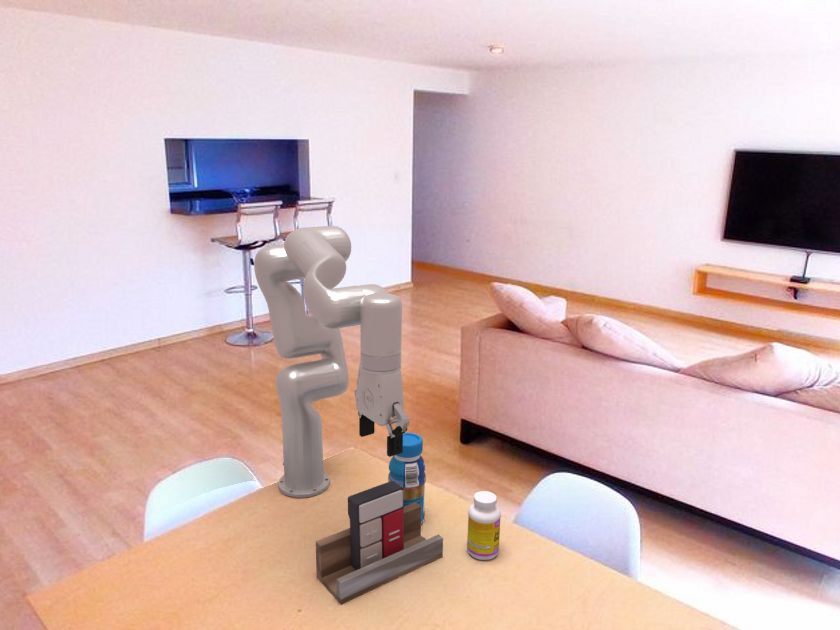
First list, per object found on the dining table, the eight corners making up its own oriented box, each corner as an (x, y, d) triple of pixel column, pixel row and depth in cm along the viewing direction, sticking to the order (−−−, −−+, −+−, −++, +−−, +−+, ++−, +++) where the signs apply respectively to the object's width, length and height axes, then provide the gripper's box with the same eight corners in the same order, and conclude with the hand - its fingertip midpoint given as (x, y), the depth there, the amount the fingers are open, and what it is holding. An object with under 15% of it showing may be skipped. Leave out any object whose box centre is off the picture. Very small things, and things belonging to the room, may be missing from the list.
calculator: (360, 575, 123) (358, 505, 119) (349, 564, 126) (347, 496, 123) (406, 554, 129) (405, 488, 126) (394, 544, 133) (393, 479, 129)
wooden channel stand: (316, 577, 124) (315, 541, 122) (415, 534, 138) (415, 502, 136) (341, 604, 117) (340, 566, 115) (442, 556, 131) (443, 522, 129)
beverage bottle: (381, 524, 142) (381, 442, 136) (397, 505, 149) (397, 427, 144) (416, 533, 138) (417, 450, 133) (430, 513, 146) (432, 434, 141)
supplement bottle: (497, 563, 129) (500, 507, 126) (464, 559, 130) (467, 503, 127) (499, 544, 135) (502, 490, 132) (469, 540, 136) (471, 486, 133)
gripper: (339, 351, 122) (340, 432, 126) (390, 378, 108) (389, 468, 113) (372, 344, 126) (372, 423, 130) (425, 369, 112) (423, 457, 117)
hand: (380, 444), depth 122 cm, fingers open, 9 cm apart
